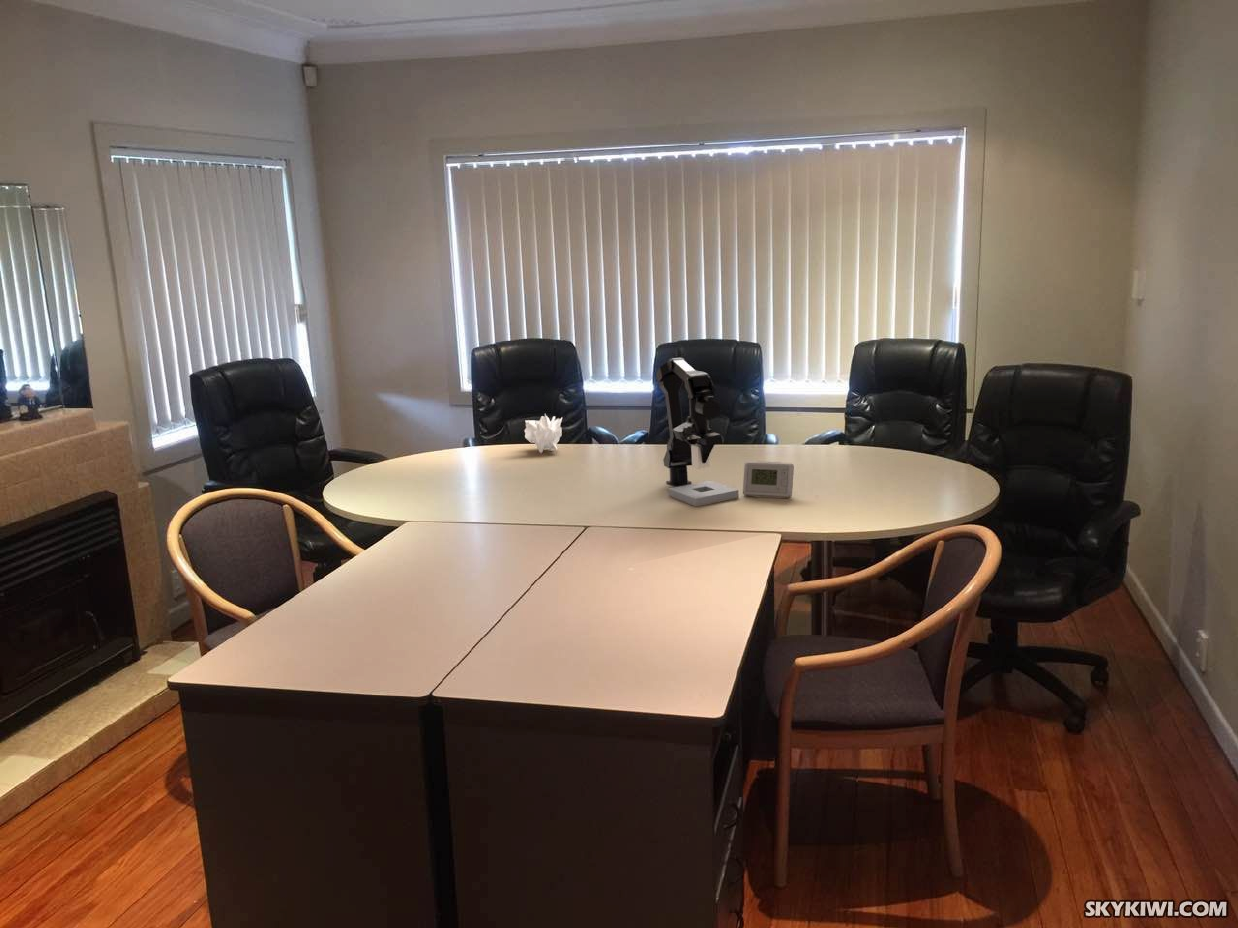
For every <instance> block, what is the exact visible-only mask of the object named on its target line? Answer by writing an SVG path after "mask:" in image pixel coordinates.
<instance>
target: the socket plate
mask: <svg viewBox="0 0 1238 928" xmlns="http://www.w3.org/2000/svg"><path fill="white" fill-rule="evenodd" d="M668 496H669V497H671V498H673V499H676V500H678V501H681V502H683V503H686V504H688V505H691V506H693V507H700V506H705V505H710V504H715V503H719V502H724V501H728V500H734V499H738V498H739V489H737V488H734V487H730V486H728V485H725V484H722V483H719V482H716V481H713V480H707V481H705V480H704V481H701V482H696V483H690V484H685V485H680V486H674V487H671V488H668Z"/></svg>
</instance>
